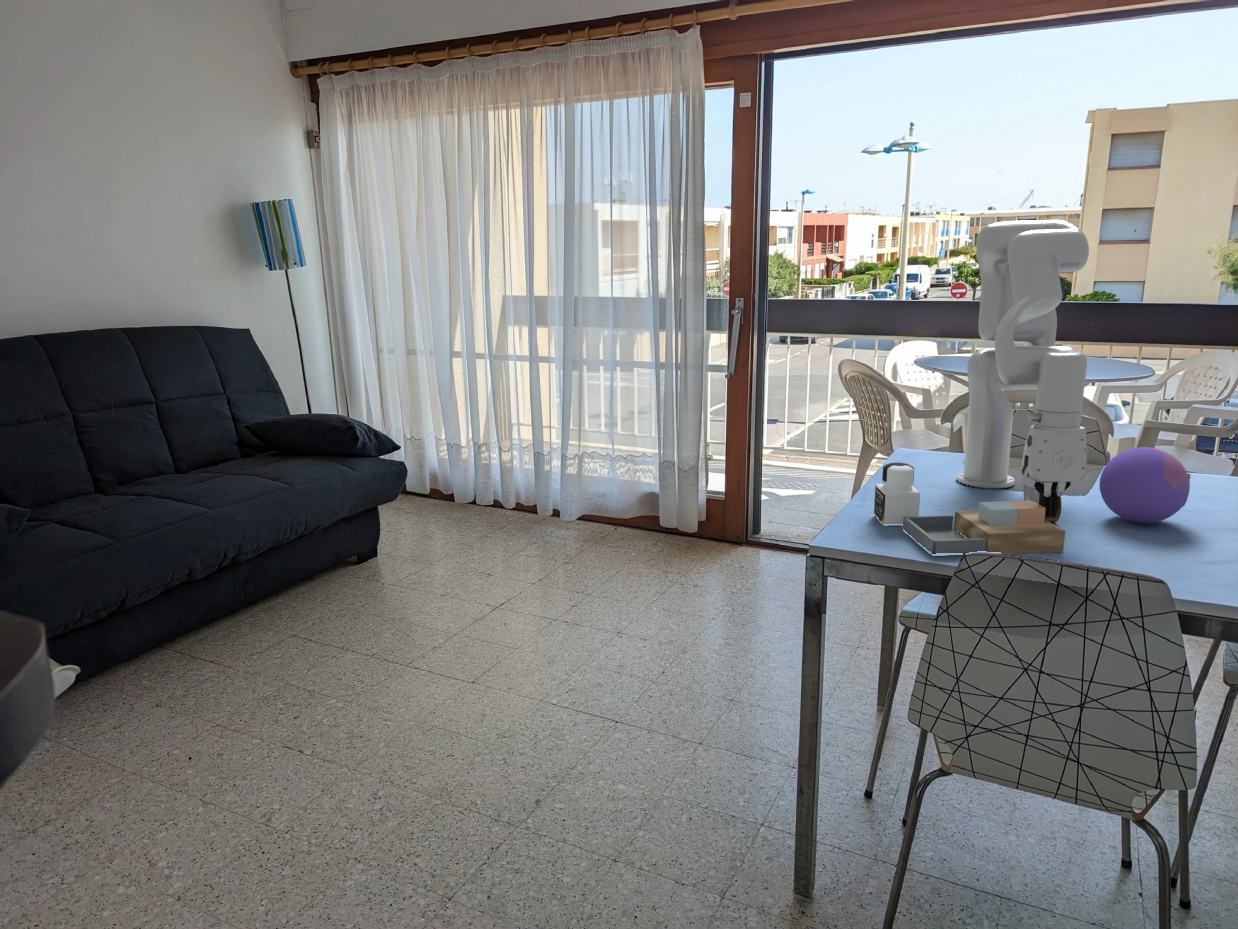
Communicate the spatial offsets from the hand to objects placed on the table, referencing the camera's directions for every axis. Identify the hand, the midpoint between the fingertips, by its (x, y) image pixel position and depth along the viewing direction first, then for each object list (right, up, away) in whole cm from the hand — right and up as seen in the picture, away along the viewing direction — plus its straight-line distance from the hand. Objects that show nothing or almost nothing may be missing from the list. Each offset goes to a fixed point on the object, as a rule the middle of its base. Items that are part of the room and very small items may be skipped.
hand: (1047, 514), depth 153 cm
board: (-7, -5, +1) cm, 9 cm away
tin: (+6, -1, +15) cm, 16 cm away
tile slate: (-9, -1, 0) cm, 10 cm away
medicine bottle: (-24, -2, +14) cm, 28 cm away
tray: (-19, -5, +1) cm, 20 cm away
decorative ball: (+23, -2, +10) cm, 25 cm away
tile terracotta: (-4, -1, 0) cm, 4 cm away
